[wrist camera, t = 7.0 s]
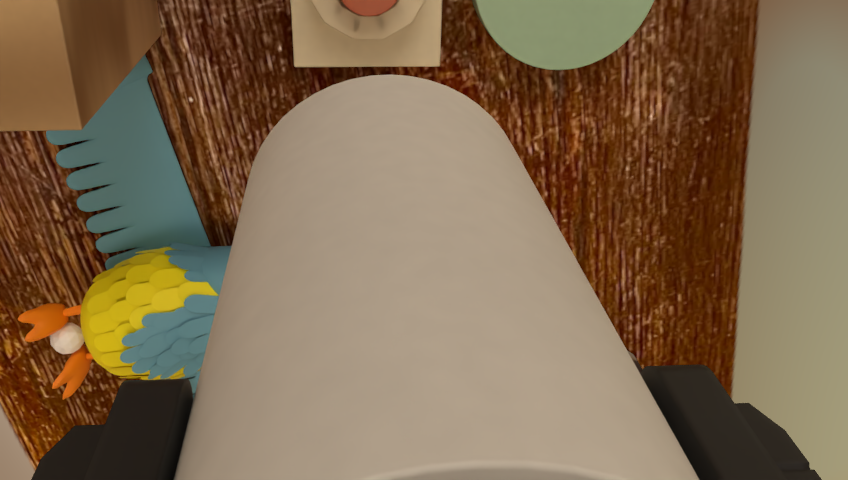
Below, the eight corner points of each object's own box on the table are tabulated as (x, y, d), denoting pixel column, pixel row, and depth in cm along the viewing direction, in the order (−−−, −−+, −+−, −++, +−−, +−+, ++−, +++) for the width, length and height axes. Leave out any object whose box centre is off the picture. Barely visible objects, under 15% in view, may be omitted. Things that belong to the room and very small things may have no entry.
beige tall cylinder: (235, 71, 14) (13, 613, 4) (538, 75, 15) (937, 559, 5) (254, 329, 17) (142, 1026, 7) (511, 323, 17) (736, 956, 8)
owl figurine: (-115, 145, 34) (219, 66, 34) (-36, 88, 42) (237, 23, 42) (128, 560, 48) (367, 502, 48) (154, 459, 55) (360, 410, 55)
